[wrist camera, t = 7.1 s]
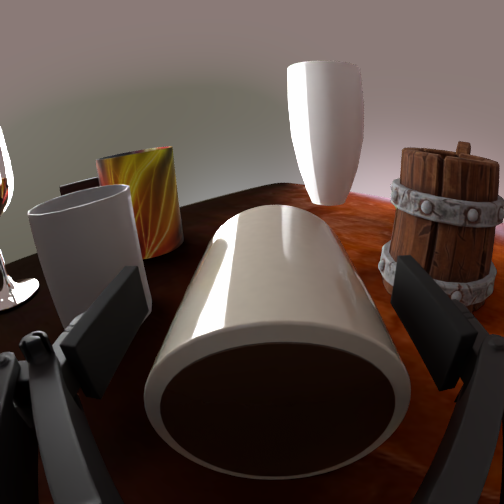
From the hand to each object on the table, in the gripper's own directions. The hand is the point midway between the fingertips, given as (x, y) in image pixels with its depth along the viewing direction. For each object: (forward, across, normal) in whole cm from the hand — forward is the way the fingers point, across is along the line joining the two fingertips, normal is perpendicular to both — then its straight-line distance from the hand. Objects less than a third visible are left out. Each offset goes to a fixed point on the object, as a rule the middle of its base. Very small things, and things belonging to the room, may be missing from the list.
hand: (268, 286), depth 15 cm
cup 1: (+6, -14, -6) cm, 16 cm away
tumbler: (-2, 0, -6) cm, 6 cm away
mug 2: (+10, +16, -6) cm, 20 cm away
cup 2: (+28, +8, -6) cm, 30 cm away
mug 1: (+20, -17, -6) cm, 27 cm away
